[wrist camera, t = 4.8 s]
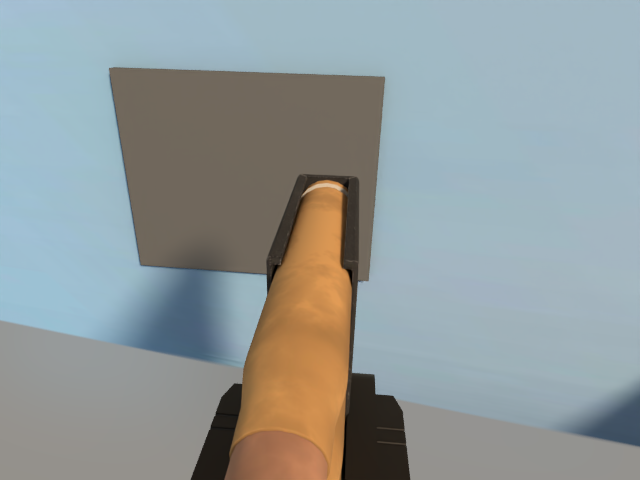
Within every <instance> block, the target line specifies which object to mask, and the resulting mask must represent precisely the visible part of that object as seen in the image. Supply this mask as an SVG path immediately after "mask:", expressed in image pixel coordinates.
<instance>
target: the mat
mask: <svg viewBox="0 0 640 480" xmlns="http://www.w3.org/2000/svg"><path fill="white" fill-rule="evenodd" d="M109 71H110V77H111V84H112V90H113V96H114V102H115V108H116V114H117V121H118V127H119V133H120V139H121V145H122V151H123V157H124V164H125V170H126V176H127V182H128V188H129V194H130V201H131V207H132V213H133V219H134V225H135V231H136V238H137V244H138V250H139V256H140V262H141V265H148V266H163V267H177V268H191V269H205V270H219V271H233V272H247V273H261V274H267V268H266V259H267V257H268V254H269V251H270V249H271V246H272V243H273V241H274V238H275V236H276V233H277V230H278V228H279V225H280V222H281V220H282V217H283V215H284V212H285V209H286V207H287V204H288V201H289V199H290V196H291V193H292V191H293V188H294V186H295V183H296V180H297V178H298V176H299V175H300V174H314V175H336V176H357V178H358V179H359V271H358V280H359V281H368V280H369V268H370V256H371V243H372V231H373V219H374V206H375V194H376V182H377V169H378V157H379V144H380V132H381V120H382V107H383V95H384V83H385V77H374V76H345V75H316V74H288V73H259V72H230V71H201V70H173V69H144V68H115V67H114V68H109Z"/></svg>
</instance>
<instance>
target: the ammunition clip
mask: <svg viewBox="0 0 640 480" xmlns="http://www.w3.org/2000/svg"><path fill="white" fill-rule="evenodd" d="M266 268H267V298H266V301H265V304H264V307H263V310H262V313H261V316H260V319H259V322H258V325H257V328H256V331H255V334H254V337H253V340H252V343H251V346H250V349H249V352H248V355H247V358H246V361H245V365H244V370H243V382H242V400H241V409H240V413H239V417H238V421H237V425H236V429H235V433H234V437H233V441H232V445H231V448H230V452H229V456H230V462H229V465H228V469H227V472H226V476H225V479H224V480H343V469H344V455H345V440H346V425H347V415H348V413H349V404H350V389H351V375H352V360H353V345H354V330H355V315H356V301H357V286H358V271H359V179H358V178H357V176H336V175H314V174H300V175H299V176H298V178H297V180H296V183H295V186H294V188H293V191H292V193H291V196H290V199H289V201H288V204H287V207H286V209H285V212H284V215H283V217H282V220H281V222H280V225H279V228H278V230H277V233H276V236H275V238H274V241H273V243H272V246H271V249H270V251H269V254H268V257H267V259H266Z"/></svg>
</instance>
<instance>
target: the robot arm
mask: <svg viewBox="0 0 640 480" xmlns="http://www.w3.org/2000/svg"><path fill="white" fill-rule="evenodd" d="M241 400H242V384H234V385H233V386H232V387H231V388H230V389H229V390H228V391H227V392H226V393H225V394H224V395H223V396H222V397H221V400H220V403H219V406H218V408H217V411H216V416H215V417H214V419H213V422H212V424H211V429H210V430H209V432H208V435H207V437H206V440H205V443H204V445H203V448H202V451H201V454H200V456H199V459H198V461H197V464H196V467H195V470H194V472H193V475H192V478H191V480H224V479H225V476H226V472H227V469H228V465H229V462H230V456H229V452H230V448H231V445H232V441H233V437H234V433H235V429H236V425H237V421H238V417H239V413H240V409H241ZM343 480H410V474H409V464H408V455H407V447H406V438H405V432H404V420H403V411H402V410H401V408H400V406H399V405H398V403H397V401H396V400H395V398H394V396H389V395H376V394H375V376H374V375H373V374H360V373H352V375H351V389H350V404H349V413H348V415H347V425H346V440H345V455H344V469H343Z"/></svg>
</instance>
